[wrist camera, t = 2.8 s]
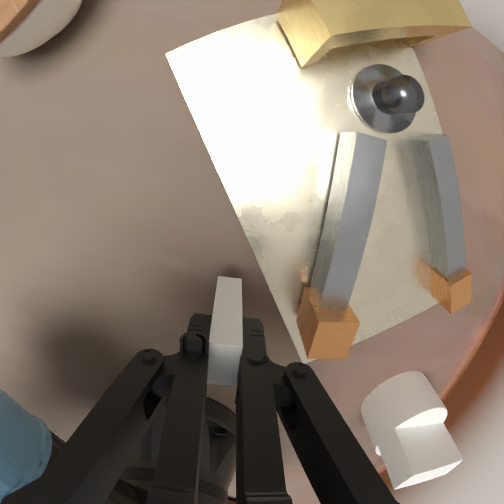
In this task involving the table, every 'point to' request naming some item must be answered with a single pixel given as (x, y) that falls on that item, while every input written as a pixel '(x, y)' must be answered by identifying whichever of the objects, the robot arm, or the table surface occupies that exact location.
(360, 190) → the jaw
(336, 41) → the tan rectangular block
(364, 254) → the tongs base
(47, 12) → the lidded jar
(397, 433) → the base with upright slab
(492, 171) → the table surface
